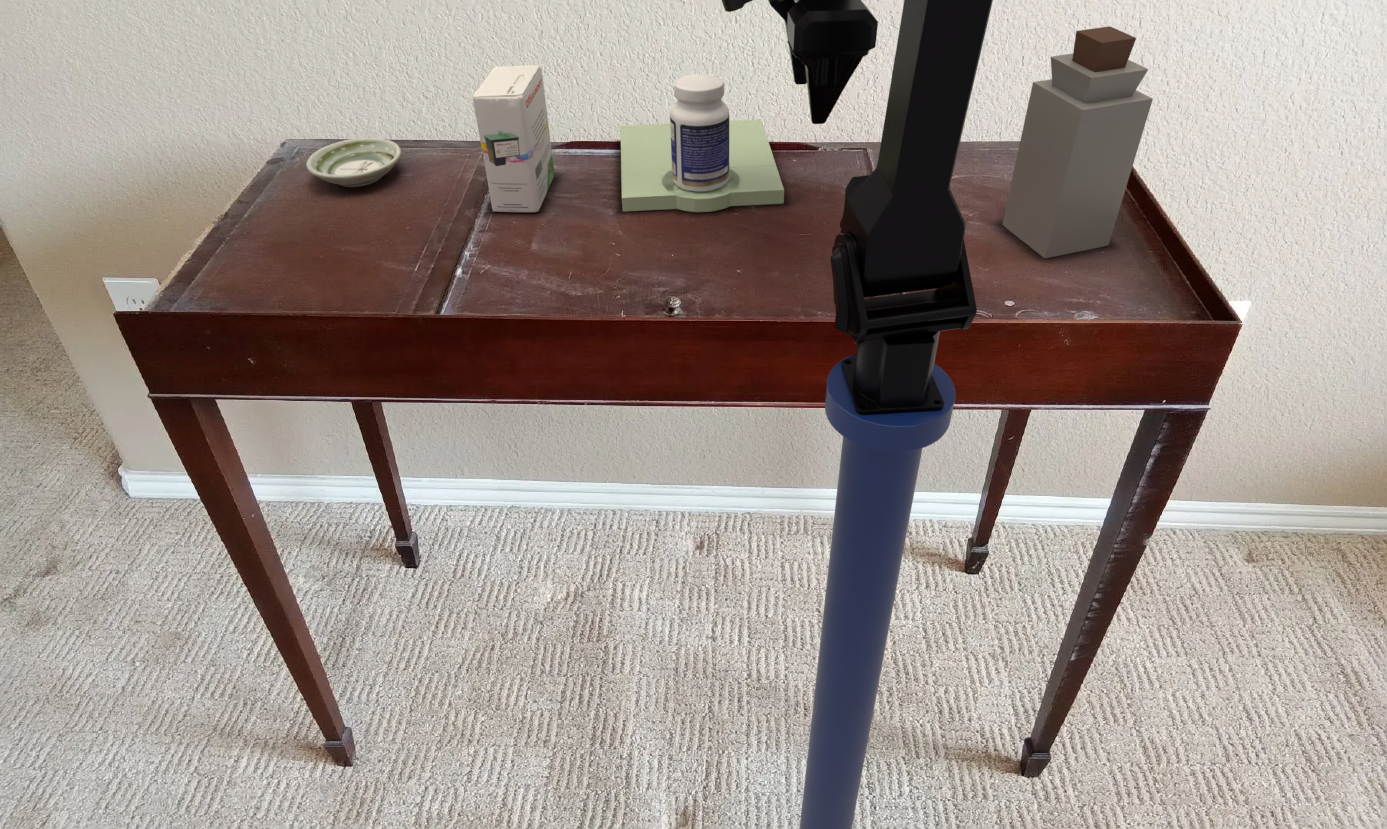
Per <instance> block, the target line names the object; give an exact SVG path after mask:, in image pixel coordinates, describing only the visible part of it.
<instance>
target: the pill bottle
mask: <svg viewBox="0 0 1387 829" xmlns="http://www.w3.org/2000/svg"><path fill="white" fill-rule="evenodd" d="M673 86H674V87H673V88H674V89H673V90H674V97H675V98H676V99H677V101H676V102H675V103H674V104H673V105H672V106H671V108H670V112H669V113H670V114H669V121H670V122H669V124H670V128H671V156H672V176H673V181H674V183H675V184H676V185H677V186H679V187H680V188H682V189H685V190H689V191H696V192H703V191H711V190H715V189H718V188H720V187H722V186H723V185H725V184H726V183H727V181H728V179H729V121H730V109H729V107H728V105H727V104H726V103H725V101H723V100H722V99H723V97H724V96H725V81H724V79H723V78H721V77H720V76H717V75H715V74H714V75H713V74H705V73H704V74H703V73H696V74H688V75H684V76H681V77H679V78H677V79H676V80H675V81H674V84H673Z"/></svg>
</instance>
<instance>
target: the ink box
mask: <svg viewBox="0 0 1387 829" xmlns="http://www.w3.org/2000/svg"><path fill="white" fill-rule="evenodd" d="M543 76H544V75H543V69H542V66H540V65H538V64H527V65H526V64H524V65H522V64H521V65H505V66H503V65H502V66H493V68H492V69H491V71H490V72H489V74H488V75H487V76H486V78H485V79H484V81H483V82H482V83H481V84H480V86H479V87H478V88H477V89H476V91H475V93H474V94H473V95H472V102H473V108H474V113H475V114H474V115H475V119H476V124H477V130H478V135H479V141H480V147H481V152H482V159H483V163H484V169H485V174H486V175H485V176H486V180H487V186H488V192H489V193H488V194H489V198H490V204H491V209H492V212H494V213H538V212H539V211H540V209H541V207H542V205H543V203H544V201H545V198H546V196H547V194H548V192H549V189H550V187H551V185H552V182H553V181H554V178H555V166H554V159H553V150H552V144H551V135H550V126H549V118H548V111H547V110H548V109H547V103H546V94H545V86H544V77H543Z"/></svg>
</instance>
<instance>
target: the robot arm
mask: <svg viewBox="0 0 1387 829" xmlns="http://www.w3.org/2000/svg"><path fill="white" fill-rule="evenodd" d="M752 1H754V0H721V4H722V6H723V9H724V11H725V12H727V13H732V12H735V11H738V10H741V9H743V8H744V6H745V5H746V4H748V3H750V2H752ZM767 1H768V3H769V5H770V7H771V8H772V9H773V10H774V11H775V13H777V14H778V15H779V16H780V17H781V19H783V20H784V26H785V33H786V38H787V41H786V43H787V45H788V50H789V55H790V62H791V69H792V75H793V81H794V83H795V85H797V86H798V85H806V87H807V97H808V105H809V114H810V121H811V123H812V124H813V125H823V124H825V123H826V122H827V120H828V119H829V117H830V115H831V114H832V111H833V109H834V108H835V106H836V104H837V102H838V101H839V99H840V97H841V95H842V93H843V92H844V90H845V88H846V87H847V85H848V83H849V81H850V80H851V78H852V76H853V74H854V73H855V71H856V70H857V68H858V66H859V65H860V63H861V62H862V60H863V58H864V57H867V56H868V55H869V52H870V50H873V49H875V48H876V45H877V36H878V26H879V21H878V19H877V18H876V17H875V15H874V14H873V13H872V12H871V10H870V9H869V8H868V6H867V5H866V4H865V3H864V2H863V1H862V0H767ZM993 2H994V0H903V6H902V12H901V18H900V24H899V30H898V35H897V36H898V37H897V41H896V49H895V54H894V61H893V67H892V72H891V79H890V84H889V90H888V91H889V92H888V97H887V103H886V110H885V116H884V120H883V127H882V134H881V140H880V147H879V153H878V159H877V164H876V167H875V169H874V170H873V171H872V172H871V173H870V174H868V175H858V176H852V177H851V178H850V180H849V182H848V183H847V185H846V187H845V189H844V191H845V192H844V204H843V211H842V216H841V218H840V222H839V228H840V233H838V234H837V235H836V236H835V239H834V242H833V246H832V248H831V256H830V267H831V268H830V269H831V275H832V288H833V289H832V290H833V304H834V308H835V317H834V327H835V329H836V330H837V331H838V332H842V333H845V334H846V335H850V338H851V339H852V340H853V343H854V344H855V345H856V352H855V354H856V358H847V359H844V358H843V359H841V360H842V364H841V367H842V370H843V374H844V377H845V380H846V383H847V386H848V389H849V392H850V395H851V398H852V401H853V404H854V407H855V411H856V412H857V413H858V414H859V415H877V414H894V413H911V412H928V411H940V410H942V409H943V407H944V401H943V399H942V396H941V394H940V392H939V390H938V387H937V385H936V383H935V381H934V378H933V376H932V373H933V368H934V364H935V362H936V356H937V351H938V346H939V340H940V334H941V332H944V331H945V332H946V331H952V330H961V331H962V330H968V329H970V327H971V325H972V323H973V321H974V319H975V317H976V316H977V312H978V308H977V302H976V297H975V292H974V286H973V280H972V277H971V276H972V275H971V271H970V265H969V259H968V255H967V250H966V244H965V234H966V224H967V223H966V221H965V219H964V217H963V215H962V212H961V210H960V207H959V205H958V202H956V199H955V197H954V195H953V192H952V190H951V186H952V185H951V184H952V178H953V174H954V170H955V165H956V161H957V158H958V152H959V148H960V144H961V139H962V137H963V136H962V135H963V132H964V127H965V121H966V118H967V114H968V110H969V107H970V106H969V105H970V100H971V96H972V93H973V88H974V83H975V79H976V75H977V71H978V67H979V62H980V57H981V53H982V49H983V46H984V40H985V37H986V32H987V27H988V23H989V19H990V14H991V11H992V6H993Z"/></svg>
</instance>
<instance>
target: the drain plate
mask: <svg viewBox="0 0 1387 829" xmlns="http://www.w3.org/2000/svg"><path fill="white" fill-rule="evenodd" d="M619 129H620V177H621V180H620V182H621V184H620V185H621V208H622V209H621V210H622V212H641V211H645V212H646V211H660V210H661V211H662V210H663V211H664V210H680V211H682V212H689V213H712V212H717V211H721V210H724V209H728V208H730V207H741V206H742V207H743V206H765V205H782V204H785V203H784V202H785V188H784V185H783V182H782V179H781V176H780V173H779V170H778V167H777V164H776V163H777V162H776V160H775V156H774V155H773V152H772V148H771V145H770V142H769V139H768V136H767V133H766V130H765V127H764V123H763V120H762V119H742V120H741V119H740V120H739V119H737V120H729V179H728V181H727V183H726V184H725V185H723V186H722V187H720V188H718V189H715V190H711V191H703V192H696V191H689V190H685V189H682V188H680V187H679V186H677V185H676V184H675V183H674V181H673V176H672V156H671V128H670V123H653V124H652V123H651V124H631V125H620V128H619Z"/></svg>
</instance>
